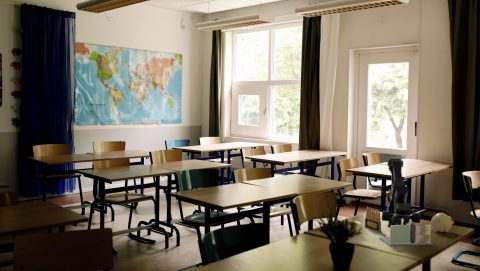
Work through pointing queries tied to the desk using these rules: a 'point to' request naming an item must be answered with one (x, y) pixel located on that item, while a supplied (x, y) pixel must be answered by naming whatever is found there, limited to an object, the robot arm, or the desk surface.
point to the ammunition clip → (373, 219)
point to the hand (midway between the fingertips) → (401, 231)
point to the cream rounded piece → (442, 222)
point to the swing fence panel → (399, 234)
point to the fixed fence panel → (420, 233)
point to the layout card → (387, 241)
